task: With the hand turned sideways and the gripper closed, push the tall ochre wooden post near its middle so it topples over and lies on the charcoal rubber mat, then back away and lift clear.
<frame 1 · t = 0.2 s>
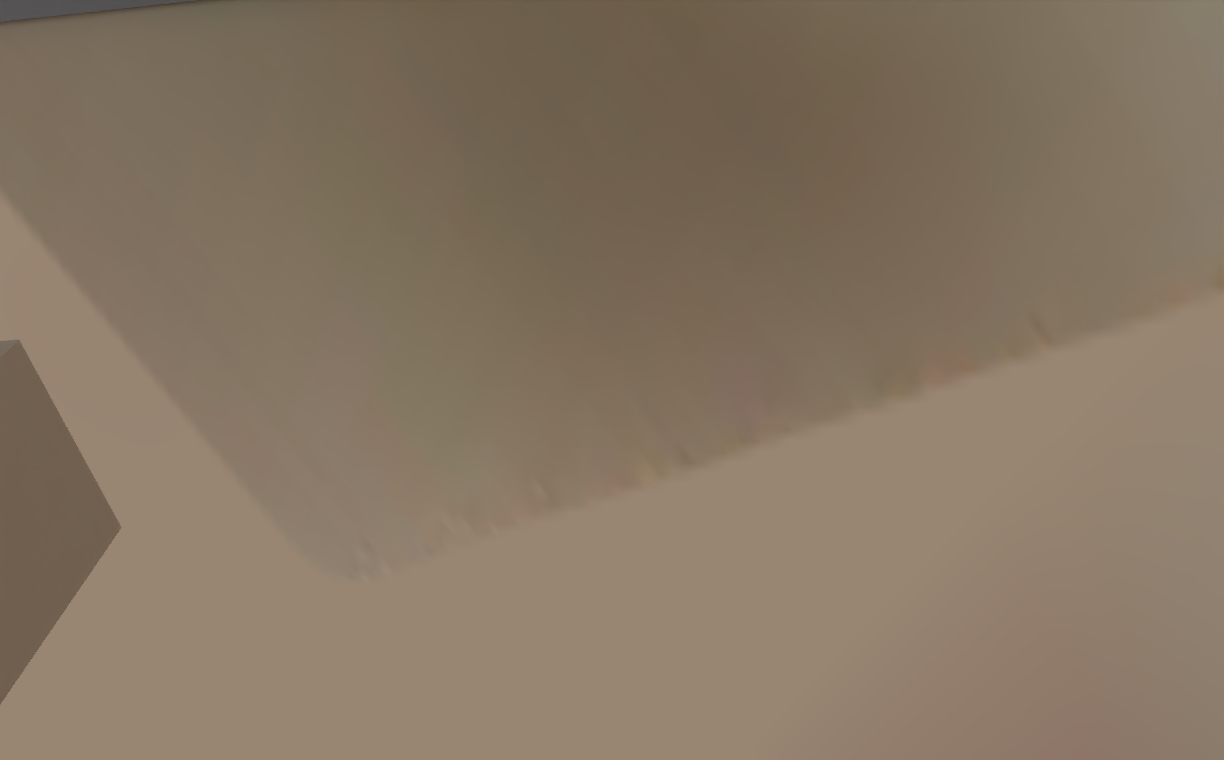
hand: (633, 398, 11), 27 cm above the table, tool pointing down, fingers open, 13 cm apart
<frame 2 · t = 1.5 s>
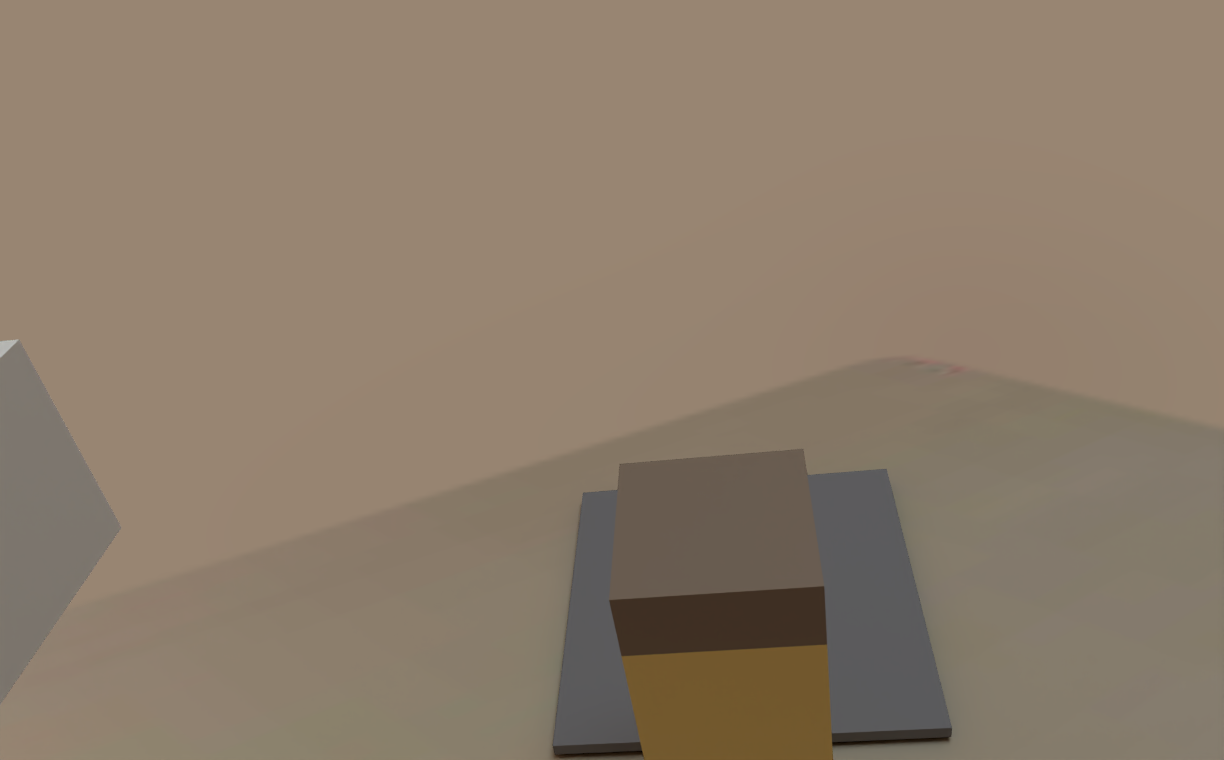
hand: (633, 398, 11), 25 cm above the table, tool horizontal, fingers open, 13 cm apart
charcoal mat: (739, 600, 42), on the table
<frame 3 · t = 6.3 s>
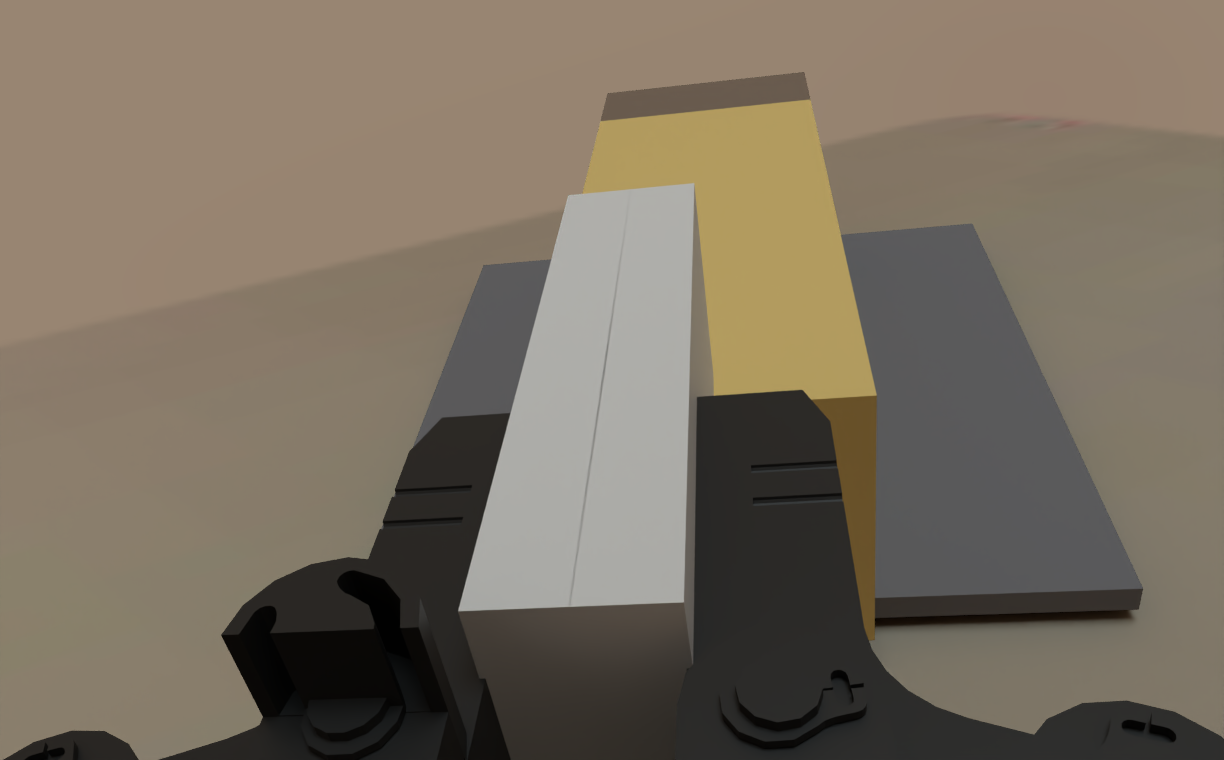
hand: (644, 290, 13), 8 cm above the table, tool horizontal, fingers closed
ochre post: (711, 535, 16), point 3 cm above the table, tilted 90°, touching charcoal mat
charcoal mat: (722, 399, 24), on the table
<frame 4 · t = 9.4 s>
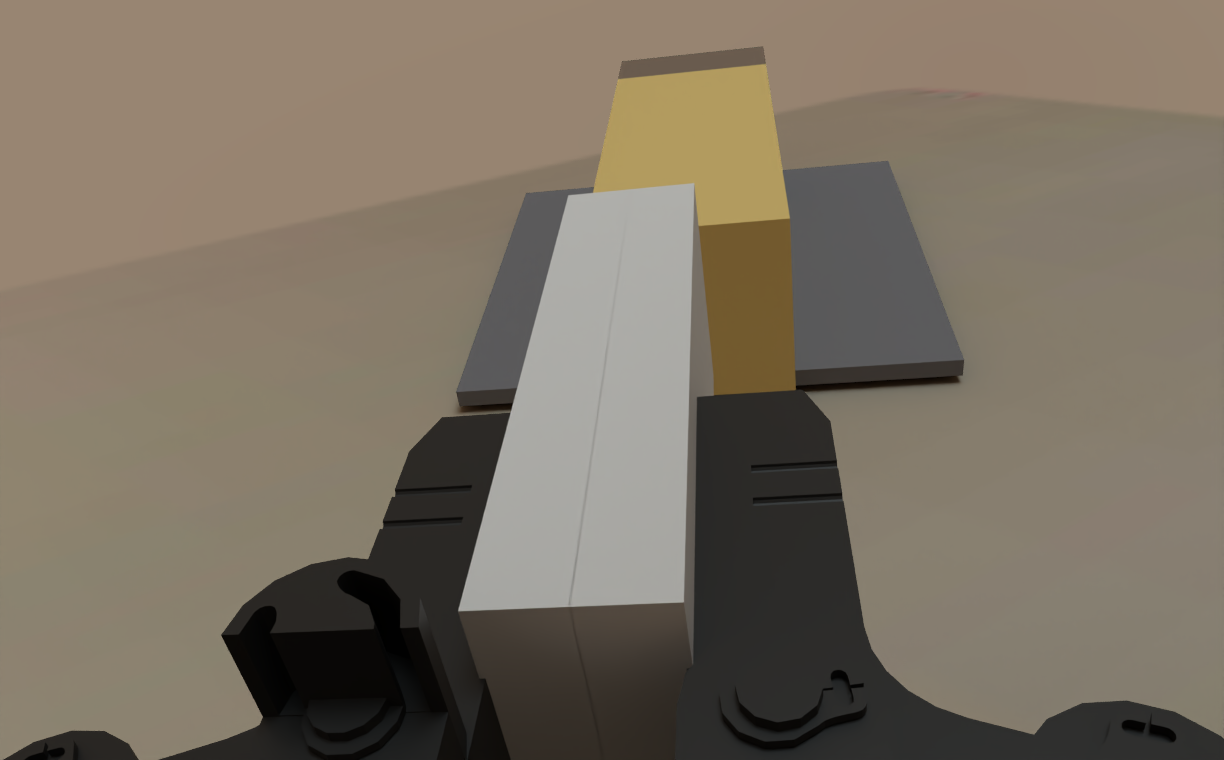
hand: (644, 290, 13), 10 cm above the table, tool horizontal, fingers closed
ochre post: (693, 315, 26), point 3 cm above the table, tilted 90°, touching charcoal mat
charcoal mat: (703, 273, 34), on the table
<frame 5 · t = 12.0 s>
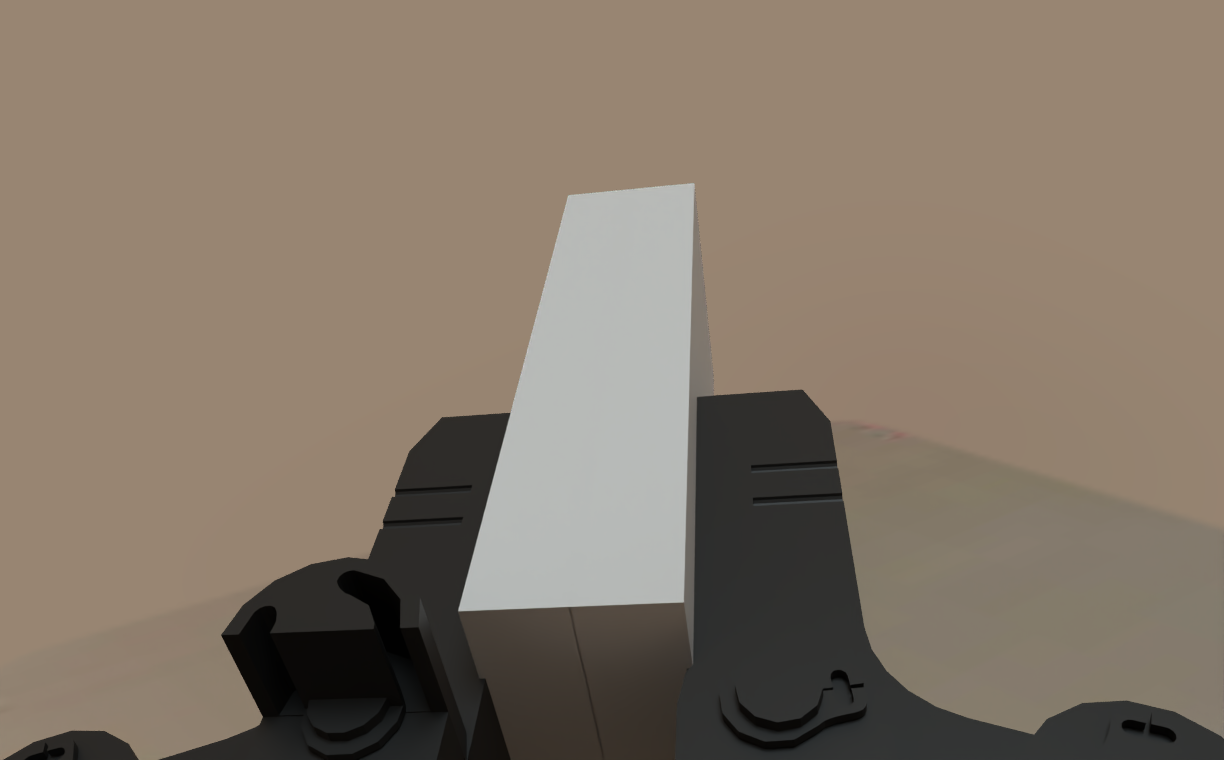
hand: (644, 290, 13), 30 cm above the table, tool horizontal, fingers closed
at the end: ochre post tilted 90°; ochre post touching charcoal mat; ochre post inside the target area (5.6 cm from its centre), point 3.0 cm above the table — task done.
